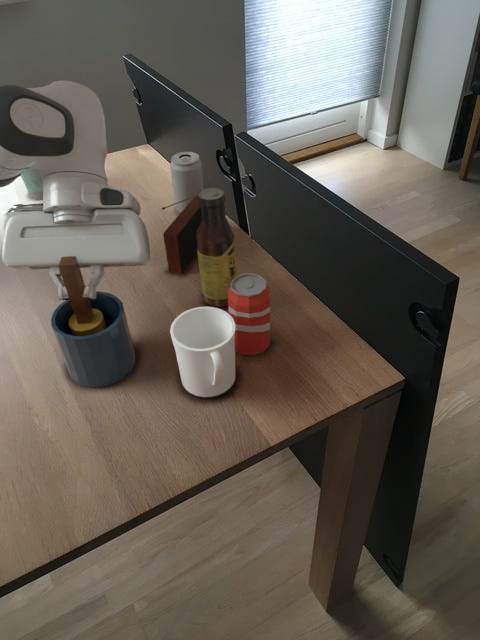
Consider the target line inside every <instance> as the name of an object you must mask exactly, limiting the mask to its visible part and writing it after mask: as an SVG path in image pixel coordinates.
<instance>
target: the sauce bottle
mask: <svg viewBox="0 0 480 640" xmlns="http://www.w3.org/2000/svg"><path fill="white" fill-rule="evenodd" d="M225 194H226V193H225V191H224V190H223V189H221V188H218V187H207V188H204V190H202V191H200V192H199V194H198V200H199V204H200V206H201V219H202V222H201V224H200V225H199V228H198V230H197V233H196V239H197V246H198V247H197V252H198V254H197V258H198V259H197V260H198V268H199V277H200V284H201V285H200V286H201V292H202V297H203V300H204V301H205V302H206V303H207V304H208V305H209V306H211V307H214V308H218V307H220V308H221V307H226V306H227V307H228V289H229V287H230V286H231V281H232V280H233V279H234V278H235V277H237V276H238V264H237V252H236V251H237V250H236V236H235V233H234V231H233V230H232V227H231V226H230V223H229V221H228V219H227V216H226V210H225V209H226V208H225V203H226V196H225Z"/></svg>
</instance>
